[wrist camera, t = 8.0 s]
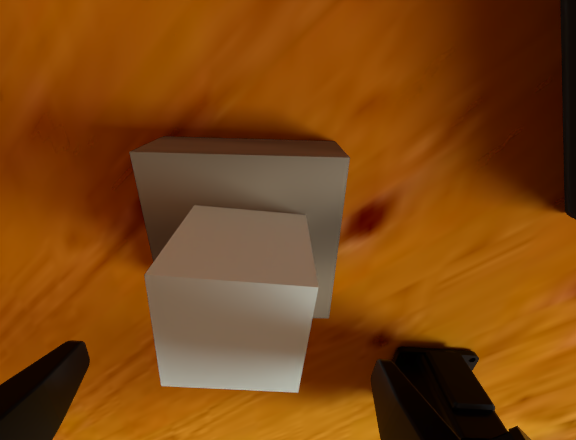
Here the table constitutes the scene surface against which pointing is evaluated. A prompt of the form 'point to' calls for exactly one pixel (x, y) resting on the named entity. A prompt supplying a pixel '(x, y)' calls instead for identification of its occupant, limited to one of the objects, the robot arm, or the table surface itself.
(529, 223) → the table surface
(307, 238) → the cream cube
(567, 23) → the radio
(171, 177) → the grey block
